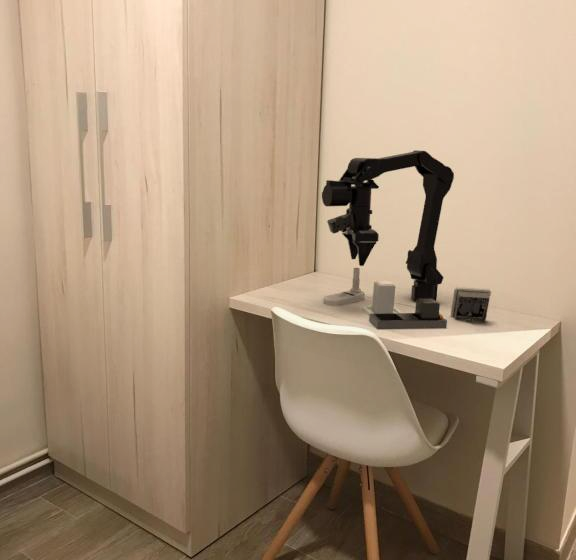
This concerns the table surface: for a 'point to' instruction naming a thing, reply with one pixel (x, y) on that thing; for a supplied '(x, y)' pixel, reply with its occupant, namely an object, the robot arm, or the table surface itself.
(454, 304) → the electrical switch
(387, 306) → the plug
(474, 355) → the table surface
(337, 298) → the electronic device
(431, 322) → the strip
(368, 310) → the tray
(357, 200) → the robot arm
